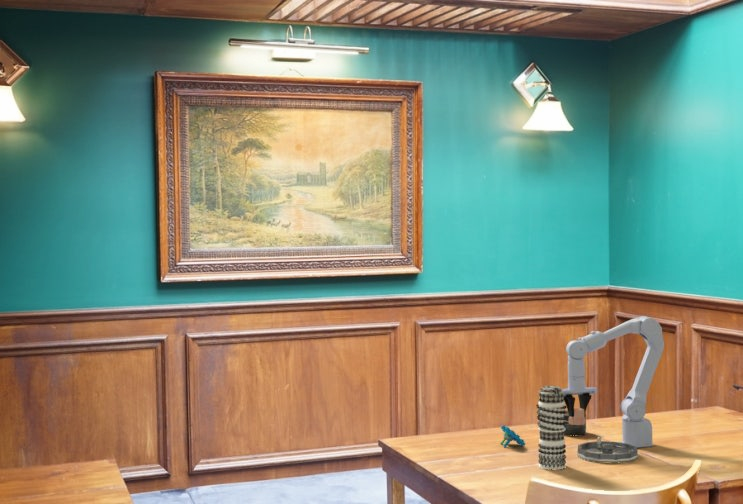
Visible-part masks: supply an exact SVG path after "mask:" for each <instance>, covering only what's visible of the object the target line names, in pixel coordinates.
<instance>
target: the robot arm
mask: <svg viewBox="0 0 743 504" xmlns="http://www.w3.org/2000/svg"><path fill="white" fill-rule="evenodd" d="M627 334H635V335H640V336H641V337H642V338H643V340H644V342H645V344H646V346H647V347H646V349H645V353H644V355H643V357H642V361H641V363H640V366H639V369H638V371H637V374H636V376H635V379H634V382H633V383H632V384H633V385H632V388H631V389H630V390H629V391H628V392H627V395H626V397H625V398H624V399H623V400H622V401H621V403H620V410H621V412H622V413H623V415H622V417H621V418H622V419H621V420H622V421H621V425H622V427H621V428H622V429H621V430H622V431H621V432H622V433H621V434H622V437H621V438H622V441H619V442H620V443H627V444H630V445H633V446H635V447H637V449H638V448H647V447H655V446H654V445H655V444H653V426H652V422H651V420H650V419H648V418H647V417H646V418H645V416H646V404H647V394H648V392H649V388H650V386H651V384H652V381H653V379H654V375H655V372H656V370H657V367H658V364H659V362H660V359H661V356H662V353H663V352H664V349H665V342H664V337H663V328H662V326H661V324H660V323H659V322H658V321H657V320H656V319H655V318H653V317H649V316H647V315H640V316H638V317H635V318H632V319H629V320H627V321H624V322H623V323H621V324H619V325H616V326H614V327H612V328H610V329H608V330H605V331H604V332H603V331H599V330H596V331H595V330H592V331H590V334H588V335H585V336H582V337H580V336H579V337H578V338H577V340H575V339H573V340H571V341H569V342H568V343H567V345H566V347H565V352H566V354H567V388H563V389H562V388H561V390H562V391H564V405H565V406H566V407H567V408H566V409H567V411H568V413H569V416H571V417H574V408H575V403H576V397H574V396H577V397H578V400H579V401H578V402H579V403H578V404H579V408H581V409H584V416H585V413H586V414H587V412H586V411H587V409H588V406H589V403H590V401H591V400H592V395H593V394H594V395H595V394H598V388H597V387H596V386H592V387H588V386H587V387H586V370H585V369H586V368H585V367H586V363H585V356H586V355H587V354H591V353H592V352H593V353H594V352H595V351H597V350H600V349H602V348H605V347H606V345H607V342H609V341H613V340H614V339H617V338H620V337H622V336H625V335H627Z"/></svg>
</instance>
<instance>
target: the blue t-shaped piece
mask: <svg viewBox="0 0 743 504" xmlns="http://www.w3.org/2000/svg"><path fill="white" fill-rule="evenodd" d="M500 429H502V432H503V433H504V434H503V439H502V441H501V442H500V445H502V447H504V448H507V446H509V444H510V443H511V442H512V441H513V442H516V443H517V445H521V446H522V447H524V446H526V442H525V440H524V439H523V438H521V436H520V434H518V433H517V434H516V432H515V431H514V430H513V429H510V427H509V426H506V425H505V424H503V425H501V426H500ZM505 441H506V442H505Z"/></svg>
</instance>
